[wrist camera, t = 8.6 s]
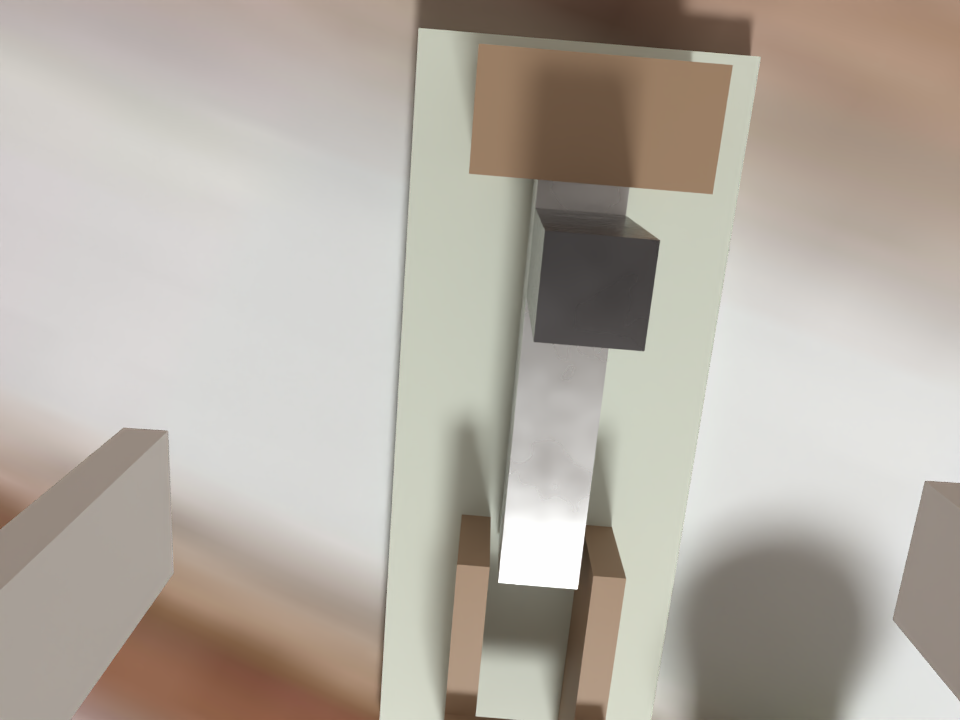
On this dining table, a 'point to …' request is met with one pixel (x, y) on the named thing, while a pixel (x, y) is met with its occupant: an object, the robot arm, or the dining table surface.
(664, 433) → the board
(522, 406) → the slide bar
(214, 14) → the dining table surface
